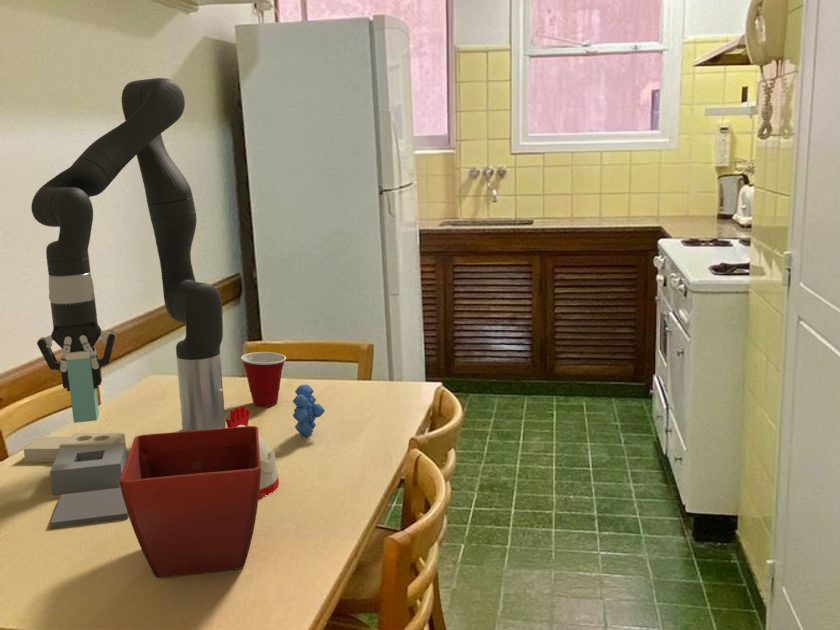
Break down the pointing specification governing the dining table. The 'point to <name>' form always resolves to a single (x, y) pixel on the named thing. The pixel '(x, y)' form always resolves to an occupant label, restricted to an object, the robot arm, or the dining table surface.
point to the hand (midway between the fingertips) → (83, 388)
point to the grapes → (306, 410)
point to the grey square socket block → (88, 468)
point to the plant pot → (193, 498)
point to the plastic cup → (264, 376)
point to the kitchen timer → (267, 457)
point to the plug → (82, 387)
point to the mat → (89, 508)
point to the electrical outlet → (67, 444)
